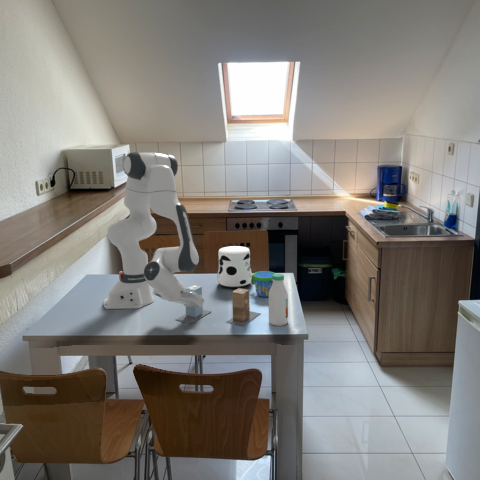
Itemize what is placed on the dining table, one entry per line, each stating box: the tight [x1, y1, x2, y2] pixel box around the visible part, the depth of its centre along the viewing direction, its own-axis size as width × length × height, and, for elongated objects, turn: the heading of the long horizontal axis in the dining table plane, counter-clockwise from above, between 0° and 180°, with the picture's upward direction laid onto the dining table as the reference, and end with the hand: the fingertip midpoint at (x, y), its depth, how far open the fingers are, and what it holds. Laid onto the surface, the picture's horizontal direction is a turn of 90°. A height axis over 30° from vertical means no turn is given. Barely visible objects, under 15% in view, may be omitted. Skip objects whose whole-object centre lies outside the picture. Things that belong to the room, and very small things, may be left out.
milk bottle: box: [268, 273, 289, 327], centre depth 188 cm, size 8×8×20 cm
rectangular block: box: [184, 284, 204, 318], centre depth 197 cm, size 5×5×12 cm
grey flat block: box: [175, 309, 212, 325], centre depth 198 cm, size 14×8×1 cm, turn 148°
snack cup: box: [250, 270, 276, 298], centre depth 220 cm, size 16×10×10 cm
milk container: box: [216, 245, 253, 289], centre depth 234 cm, size 17×17×18 cm
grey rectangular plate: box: [225, 310, 261, 327], centre depth 195 cm, size 14×8×1 cm, turn 148°
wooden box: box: [231, 287, 251, 322], centre depth 192 cm, size 5×5×12 cm
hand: (189, 305), depth 195 cm, fingers closed, pressing on rectangular block
